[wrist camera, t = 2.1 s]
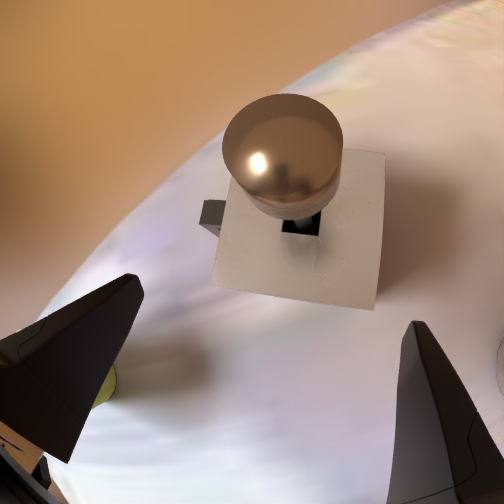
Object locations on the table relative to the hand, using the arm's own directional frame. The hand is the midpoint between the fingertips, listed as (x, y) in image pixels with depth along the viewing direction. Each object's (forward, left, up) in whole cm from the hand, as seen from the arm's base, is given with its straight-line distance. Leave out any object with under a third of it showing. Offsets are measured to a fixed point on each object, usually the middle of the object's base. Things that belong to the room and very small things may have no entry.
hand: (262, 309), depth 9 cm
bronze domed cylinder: (+4, +2, -8) cm, 9 cm away
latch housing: (+4, +2, -13) cm, 14 cm away
